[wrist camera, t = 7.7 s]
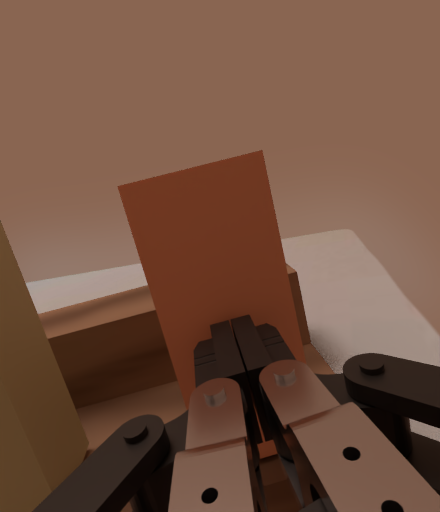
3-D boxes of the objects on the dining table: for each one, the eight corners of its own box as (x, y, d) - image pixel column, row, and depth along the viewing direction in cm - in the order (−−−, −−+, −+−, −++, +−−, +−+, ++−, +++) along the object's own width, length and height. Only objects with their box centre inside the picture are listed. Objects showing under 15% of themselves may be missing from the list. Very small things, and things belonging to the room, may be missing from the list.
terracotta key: (322, 440, 14) (262, 149, 12) (206, 474, 14) (117, 186, 11) (292, 385, 18) (242, 158, 15) (201, 411, 18) (134, 185, 15)
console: (399, 487, 14) (376, 335, 12) (-426, 739, 13) (-573, 603, 11) (289, 331, 29) (272, 252, 27) (-98, 439, 27) (-141, 361, 25)
